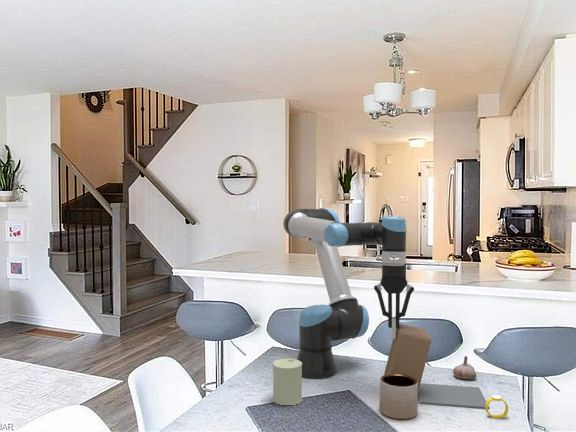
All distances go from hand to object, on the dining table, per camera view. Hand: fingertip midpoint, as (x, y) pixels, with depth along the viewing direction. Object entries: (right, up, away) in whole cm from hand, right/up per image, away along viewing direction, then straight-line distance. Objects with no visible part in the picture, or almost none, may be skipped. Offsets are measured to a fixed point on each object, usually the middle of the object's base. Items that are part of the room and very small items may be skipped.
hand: (393, 338), depth 157 cm
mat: (+17, -18, -2) cm, 25 cm away
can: (-34, -18, -5) cm, 39 cm away
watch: (+26, -19, -17) cm, 36 cm away
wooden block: (+2, -17, +1) cm, 17 cm away
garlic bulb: (+28, -18, +14) cm, 36 cm away
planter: (-2, -18, -14) cm, 23 cm away
